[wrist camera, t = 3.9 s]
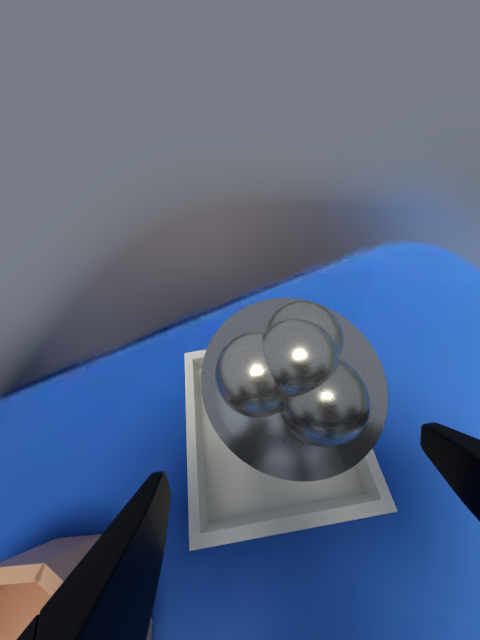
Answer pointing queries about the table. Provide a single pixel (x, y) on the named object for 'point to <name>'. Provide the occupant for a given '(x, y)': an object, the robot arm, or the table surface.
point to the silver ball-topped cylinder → (294, 389)
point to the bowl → (38, 580)
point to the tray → (263, 486)
